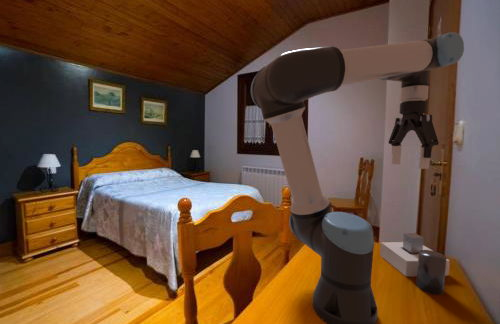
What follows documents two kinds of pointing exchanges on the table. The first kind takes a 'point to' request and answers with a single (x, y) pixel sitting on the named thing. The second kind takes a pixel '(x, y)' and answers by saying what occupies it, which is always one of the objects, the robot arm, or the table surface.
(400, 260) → the socket block
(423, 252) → the cylinder
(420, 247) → the square bit
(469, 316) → the table surface
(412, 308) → the table surface
